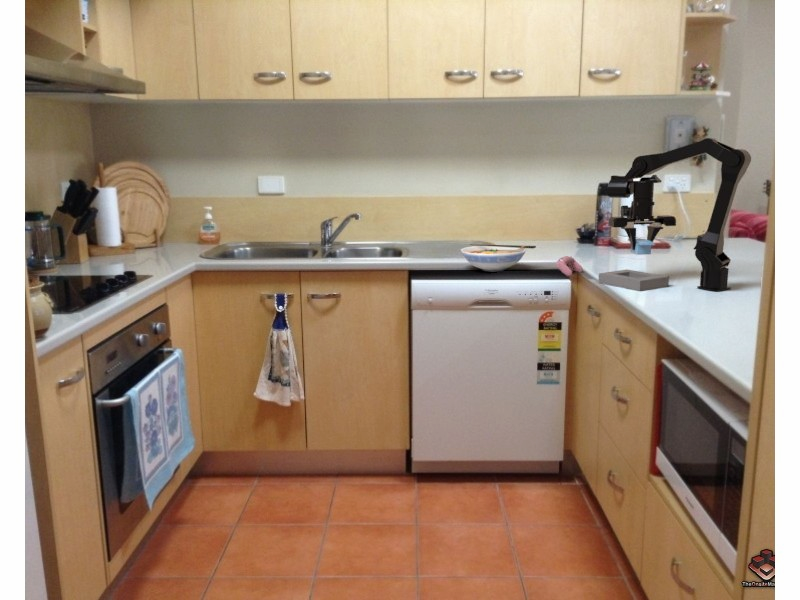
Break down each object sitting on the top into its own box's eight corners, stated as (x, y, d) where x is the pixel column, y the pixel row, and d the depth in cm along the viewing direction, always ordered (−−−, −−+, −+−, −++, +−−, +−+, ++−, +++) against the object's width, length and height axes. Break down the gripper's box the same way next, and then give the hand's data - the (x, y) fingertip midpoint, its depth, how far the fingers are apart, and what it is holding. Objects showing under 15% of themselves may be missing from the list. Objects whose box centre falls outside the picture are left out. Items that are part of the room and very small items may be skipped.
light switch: (668, 286, 196) (668, 276, 196) (639, 291, 191) (640, 280, 190) (626, 278, 210) (626, 269, 210) (598, 282, 205) (598, 273, 204)
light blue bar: (640, 250, 209) (640, 237, 208) (654, 255, 197) (655, 242, 196) (627, 250, 209) (628, 238, 208) (640, 256, 197) (641, 242, 197)
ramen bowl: (446, 272, 230) (445, 249, 229) (476, 263, 249) (476, 241, 247) (512, 278, 217) (512, 253, 215) (539, 267, 235) (539, 244, 234)
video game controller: (573, 275, 227) (565, 257, 227) (584, 270, 224) (576, 251, 224) (560, 280, 219) (552, 260, 220) (572, 275, 216) (563, 255, 217)
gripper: (663, 195, 208) (661, 245, 211) (604, 197, 208) (602, 247, 211) (678, 197, 197) (675, 250, 200) (615, 199, 197) (613, 251, 200)
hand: (640, 249), depth 203 cm, fingers closed on light blue bar, 4 cm apart
